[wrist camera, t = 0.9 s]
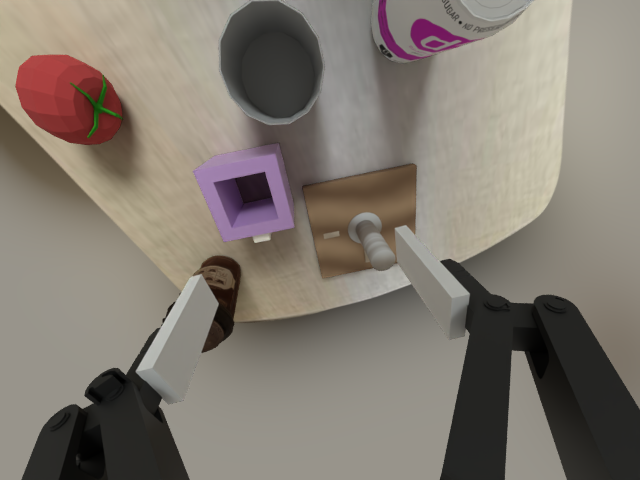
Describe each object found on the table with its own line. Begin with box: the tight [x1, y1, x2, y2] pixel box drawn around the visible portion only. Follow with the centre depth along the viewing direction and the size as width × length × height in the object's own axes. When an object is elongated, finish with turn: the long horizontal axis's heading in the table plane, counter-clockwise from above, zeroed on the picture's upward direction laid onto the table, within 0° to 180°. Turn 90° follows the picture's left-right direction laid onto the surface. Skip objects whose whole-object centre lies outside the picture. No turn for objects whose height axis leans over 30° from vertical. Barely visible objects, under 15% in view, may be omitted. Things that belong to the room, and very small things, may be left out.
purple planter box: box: [193, 143, 294, 243], centre depth 31 cm, size 10×8×8 cm
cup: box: [219, 0, 325, 125], centre depth 24 cm, size 8×8×10 cm
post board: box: [302, 164, 417, 278], centre depth 34 cm, size 16×16×10 cm
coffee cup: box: [161, 256, 241, 353], centre depth 35 cm, size 9×8×13 cm
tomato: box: [16, 55, 123, 145], centre depth 25 cm, size 8×8×8 cm
